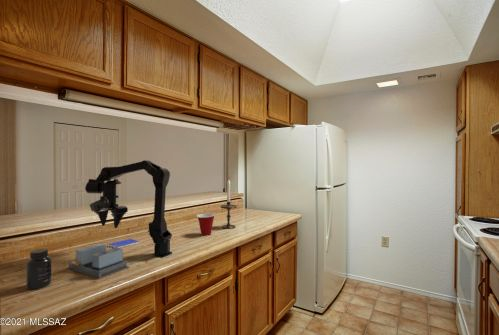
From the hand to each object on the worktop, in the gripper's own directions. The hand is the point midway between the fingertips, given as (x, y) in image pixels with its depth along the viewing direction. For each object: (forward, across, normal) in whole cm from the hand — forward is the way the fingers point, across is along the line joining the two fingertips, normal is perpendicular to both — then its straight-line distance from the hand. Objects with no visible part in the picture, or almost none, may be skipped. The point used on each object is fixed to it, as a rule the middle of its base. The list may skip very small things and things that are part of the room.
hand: (109, 226), depth 128 cm
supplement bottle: (+12, +12, -34) cm, 38 cm away
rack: (+12, +14, -14) cm, 24 cm away
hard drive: (+13, -6, +12) cm, 18 cm away
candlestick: (+12, +21, +71) cm, 75 cm away
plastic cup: (+12, +19, +49) cm, 54 cm away
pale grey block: (+12, +9, -14) cm, 20 cm away
